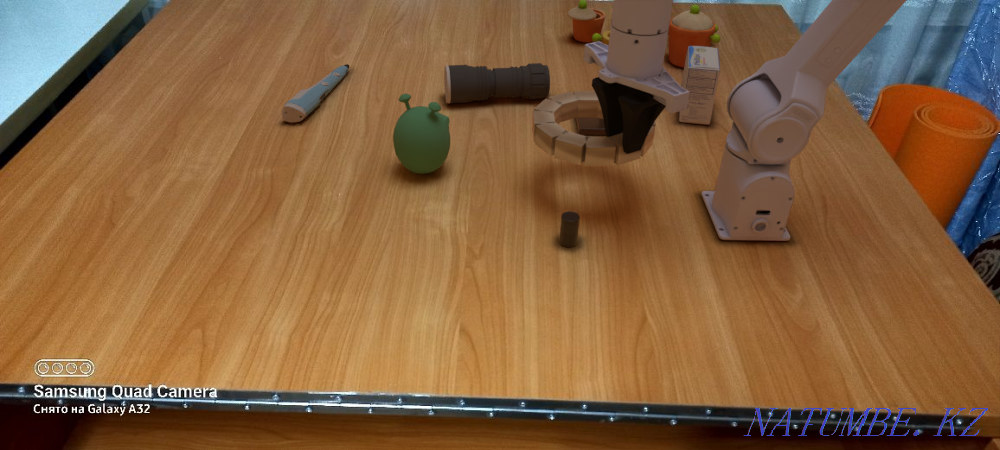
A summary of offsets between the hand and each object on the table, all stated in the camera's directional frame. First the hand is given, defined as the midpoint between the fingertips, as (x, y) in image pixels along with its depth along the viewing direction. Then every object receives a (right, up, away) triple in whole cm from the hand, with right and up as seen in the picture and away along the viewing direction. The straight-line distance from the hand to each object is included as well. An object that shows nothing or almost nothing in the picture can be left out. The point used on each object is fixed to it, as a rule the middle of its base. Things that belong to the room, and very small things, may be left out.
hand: (623, 144), depth 82 cm
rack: (+2, +6, +24) cm, 25 cm away
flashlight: (-14, +10, +29) cm, 34 cm away
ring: (-3, +2, +5) cm, 6 cm away
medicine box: (+15, +7, +27) cm, 31 cm away
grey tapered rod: (-40, +10, +28) cm, 50 cm away
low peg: (-6, -11, 0) cm, 12 cm away
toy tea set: (+11, +21, +45) cm, 51 cm away
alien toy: (-23, -2, +12) cm, 26 cm away
